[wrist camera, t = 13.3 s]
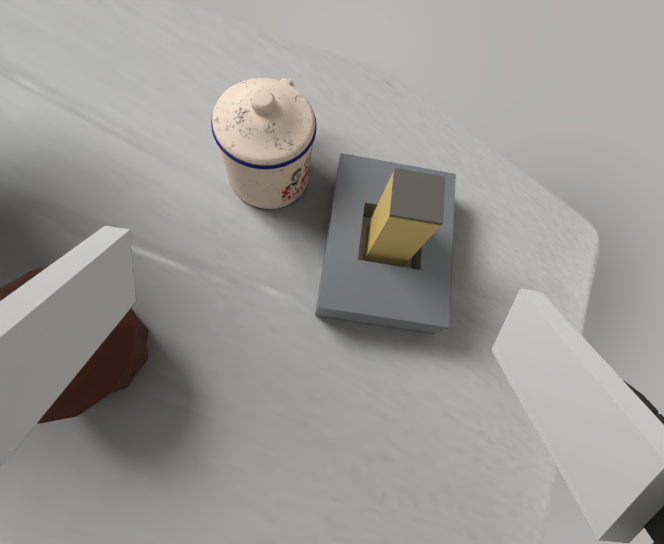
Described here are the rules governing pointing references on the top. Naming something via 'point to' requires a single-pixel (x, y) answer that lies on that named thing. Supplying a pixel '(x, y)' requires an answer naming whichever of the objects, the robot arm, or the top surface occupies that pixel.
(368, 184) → the socket plate
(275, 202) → the teacup with lid
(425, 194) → the plug
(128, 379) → the muffin
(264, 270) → the top surface
